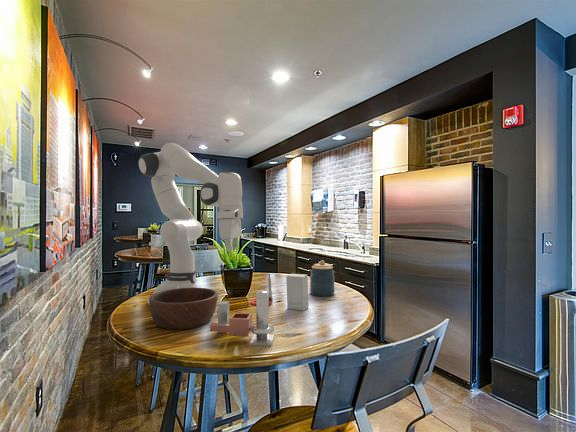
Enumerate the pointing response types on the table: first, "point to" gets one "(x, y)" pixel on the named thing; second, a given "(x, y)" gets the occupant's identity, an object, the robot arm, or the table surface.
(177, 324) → the wooden bowl
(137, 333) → the table surface
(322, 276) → the canister
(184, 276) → the robot arm
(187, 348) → the table surface
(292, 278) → the skincare box
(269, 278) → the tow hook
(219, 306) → the wedge pin
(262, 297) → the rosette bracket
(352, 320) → the table surface
